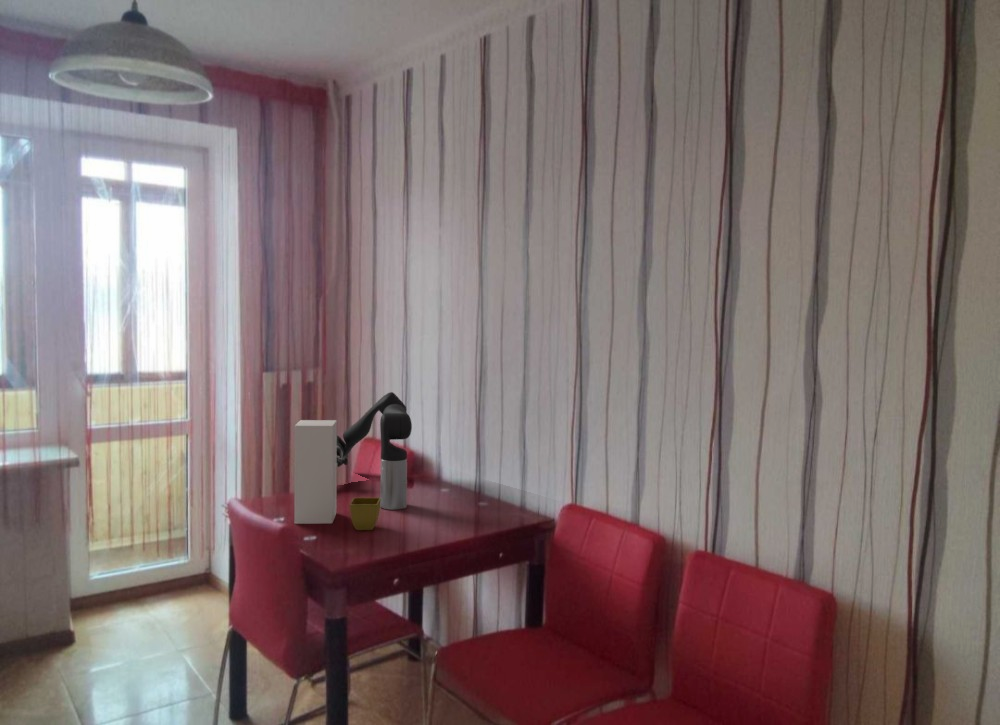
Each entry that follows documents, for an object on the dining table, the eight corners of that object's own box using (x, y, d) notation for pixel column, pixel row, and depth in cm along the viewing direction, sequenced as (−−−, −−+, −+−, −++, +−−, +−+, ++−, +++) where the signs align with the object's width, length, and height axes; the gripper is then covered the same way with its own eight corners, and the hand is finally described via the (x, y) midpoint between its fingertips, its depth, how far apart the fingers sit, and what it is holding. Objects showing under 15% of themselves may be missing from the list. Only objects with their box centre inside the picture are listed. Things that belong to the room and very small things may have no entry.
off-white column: (336, 513, 256) (336, 420, 253) (332, 523, 244) (332, 425, 241) (300, 513, 254) (300, 420, 252) (294, 523, 242) (294, 425, 240)
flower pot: (348, 532, 234) (349, 504, 234) (353, 524, 243) (353, 497, 242) (377, 532, 235) (377, 504, 234) (380, 524, 243) (381, 497, 243)
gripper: (350, 464, 299) (345, 474, 283) (314, 464, 298) (307, 474, 282) (350, 446, 299) (346, 454, 283) (314, 446, 297) (307, 454, 281)
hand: (326, 464), depth 282 cm, fingers open, 8 cm apart
